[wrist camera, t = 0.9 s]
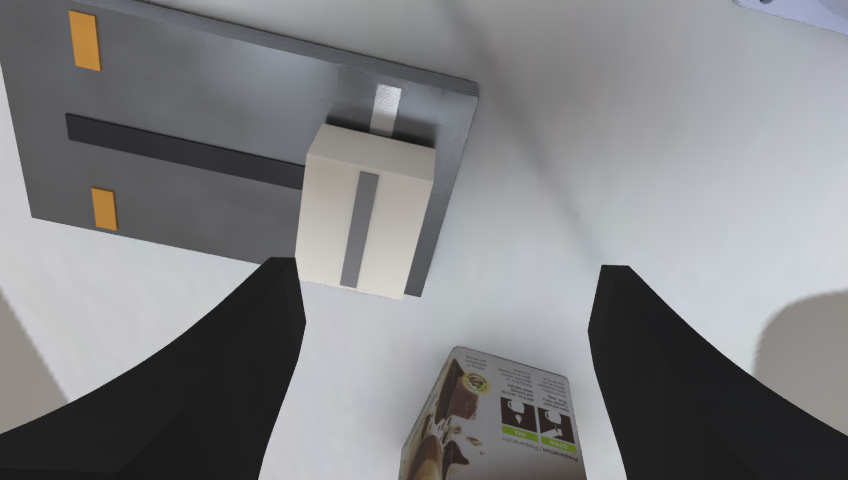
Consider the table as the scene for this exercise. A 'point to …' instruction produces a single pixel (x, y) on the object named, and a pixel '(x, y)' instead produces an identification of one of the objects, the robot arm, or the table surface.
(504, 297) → the table surface
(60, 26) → the fader panel
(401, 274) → the fader knob
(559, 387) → the coffee box
